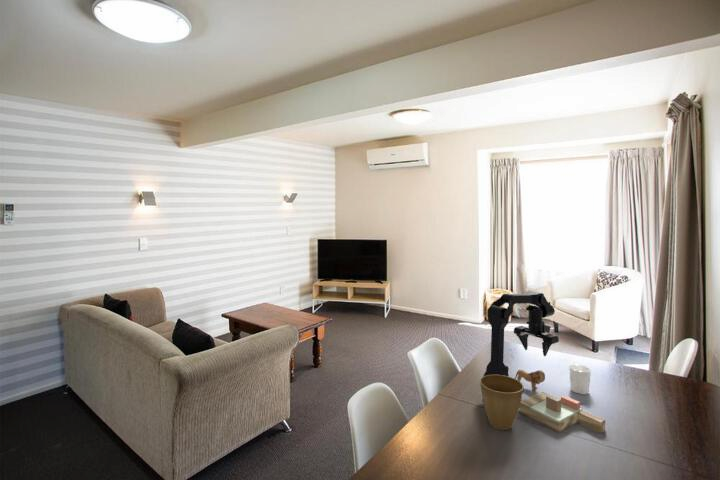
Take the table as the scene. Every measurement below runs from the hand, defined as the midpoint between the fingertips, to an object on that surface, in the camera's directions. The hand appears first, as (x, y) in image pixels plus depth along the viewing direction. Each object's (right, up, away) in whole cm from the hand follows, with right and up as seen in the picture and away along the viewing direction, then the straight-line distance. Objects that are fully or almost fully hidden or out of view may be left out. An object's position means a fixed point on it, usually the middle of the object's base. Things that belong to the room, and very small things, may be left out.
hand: (535, 352), depth 162 cm
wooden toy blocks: (-5, -16, -29) cm, 33 cm away
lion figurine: (-3, -15, -1) cm, 16 cm away
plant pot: (-28, -17, -30) cm, 44 cm away
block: (0, -12, -27) cm, 29 cm away
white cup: (+17, -15, -6) cm, 23 cm away
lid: (-6, -13, -28) cm, 31 cm away
